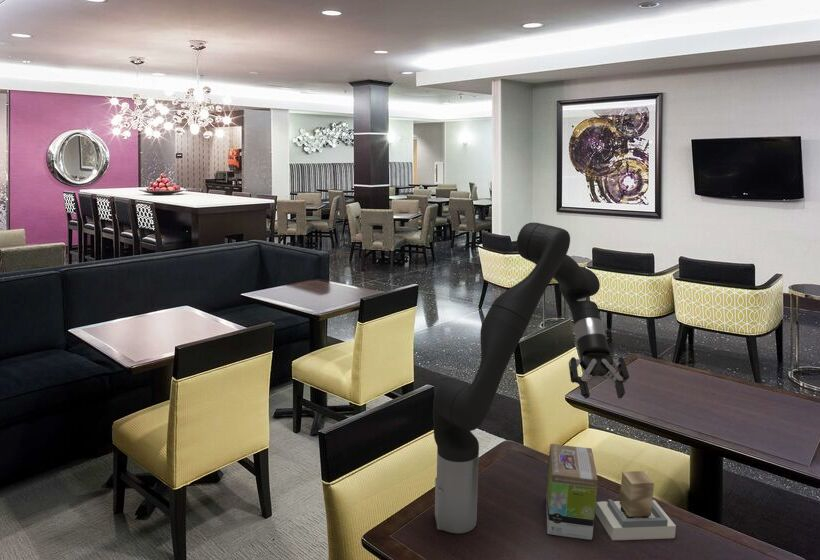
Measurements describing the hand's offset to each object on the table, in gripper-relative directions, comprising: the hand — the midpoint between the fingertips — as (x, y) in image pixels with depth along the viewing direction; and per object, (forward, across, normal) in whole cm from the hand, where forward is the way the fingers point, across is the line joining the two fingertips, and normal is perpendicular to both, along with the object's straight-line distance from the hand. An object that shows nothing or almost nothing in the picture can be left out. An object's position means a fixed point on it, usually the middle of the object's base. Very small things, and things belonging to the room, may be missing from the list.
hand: (604, 397), depth 147 cm
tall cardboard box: (+27, +2, +2) cm, 27 cm away
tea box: (+27, -12, +7) cm, 30 cm away
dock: (+29, +2, +4) cm, 29 cm away
